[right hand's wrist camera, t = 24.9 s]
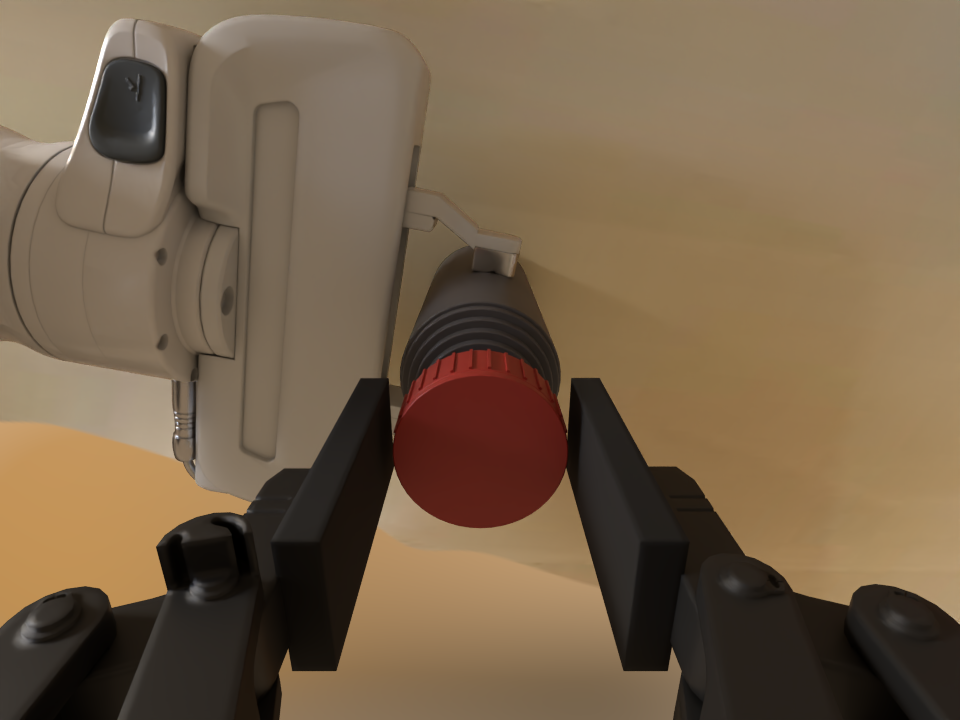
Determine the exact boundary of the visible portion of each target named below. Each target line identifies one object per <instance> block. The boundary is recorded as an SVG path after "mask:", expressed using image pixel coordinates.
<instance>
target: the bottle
mask: <svg viewBox="0 0 960 720" xmlns="http://www.w3.org/2000/svg"><path fill="white" fill-rule="evenodd" d="M473 254H474V249H472V248H471V247H470V246H467V247H464V248H461V249H459V250H457V251H455V252H454V253H452V254H451V255H449V256H448V257H447V258H446V259H445V260H444V261H443V262H442V263H441V265H440V266H439V268H438V270H437V272H436V274H435V276H434V278H433V281H432V283H431V286H430V288H429V291H428V293H427V296H426V298H425V301H424V303H423V306H422V308H421V311H420V313H419V316H418V318H417V321H416V323H415V326H414V328H413V331H412V333H411V336H410V338H409V341H408V343H407V346H406V348H405V351H404V354H403V357H402V362H401V367H400V382H401V389H402V393H403V397H404V396H405V394H408V393H409V391H410V388H411V384H412V382H413V380H414V381H416V380H417V379H418V378H419V376H420V375H421V374H422V372H423V370H424V369H426V370H427V369H428V368H429V367H430V366H432V365H433V364H435V363H436V361H437V360H438V359H440V360H442V359H444V358H446V357H448V356H451V355H452V353H454V352H455V353H456V354H457V353H461V352H466V351H470V349H473V351H475V350H486V351H487V349H491V351H495V352H500V353H505V352H507V353H508V355H510V356H513V357H515V358H517V359H519V360H520V359H523V360H524V362H525V363H526V364H528V365H529V366H531V367H532V368H533V369H534V368H536V369H537V370H538V373H539V374H540V376H541V377H542V378H543V379H544V380H547V381H548V382H549V386H550V389H551V391H552V393H553V394H554V393H555V394H556V397H557V395H558V392H559V387H560V377H561V371H560V363H559V359H558V355H557V352H556V349H555V347H554V344H553V342H552V339H551V337H550V334H549V332H548V329H547V327H546V324H545V322H544V319H543V317H542V314H541V312H540V309H539V307H538V304H537V302H536V299H535V297H534V294H533V292H532V289H531V287H530V285H529V282H528V280H527V277H526V275H525V272H524V270H523V269H522V267H521V265H520V264H519V263H518V262H517V265H516V270H515V274H514V277H504V276H501V275H498V274H497V273H496V272H495V271H491V272H489V273H485V272H479V271H474V270H471V268H472V260H473Z"/></svg>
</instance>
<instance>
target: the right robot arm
mask: <svg viewBox="0 0 960 720" xmlns="http://www.w3.org/2000/svg"><path fill="white" fill-rule="evenodd" d="M567 442H568V460H567V466H566V468H567V472H568V475H569V479H570V483H571V486H572V490H573V493H574V497H575V500H576V504H577V507H578V511H579V514H580V518H581V522H582V525H583V529H584V532H585V536H586V539H587V543H588V546H589V550H590V553H591V557H592V561H593V564H594V568H595V571H596V575H597V578H598V582H599V585H600V589H601V592H602V596H603V600H604V603H605V607H606V610H607V614H608V617H609V621H610V624H611V628H612V631H613V635H614V639H615V642H616V646H617V649H618V653H619V656H620V660H621V663H622V667H623V670H624V671H668V666H669V660H670V655H671V649H672V648H673V650H674V653H675V655H676V658H677V660H678V663H679V665H680V668H681V670H682V673H681V678H680V684H679V689H678V695H677V700H676V706H675V711H674V718H673V720H960V624H958V623H957V622H956V621H955V620H954V619H953V618H952V617H951V616H949V615H948V614H947V613H946V612H944V611H943V610H942V609H941V608H939V607H938V606H937V605H935V604H933V603H931V602H929V601H928V600H926V599H924V598H922V597H920V596H918V595H916V594H914V593H911V592H908V591H905V590H902V589H900V588H897V587H893V586H886V585H878V584H873V585H867V586H861V587H860V588H859V589H858V590H856V591H855V592H854V593H853V595H852V599H851V602H850V605H849V606H847V605H843V604H839V603H834V602H830V601H826V600H821V599H817V598H813V597H808V596H805V595H802V594H798V593H795V592H793V590H792V589H791V587H790V586H789V584H788V583H787V581H786V580H785V578H784V577H783V576H782V575H780V574H779V573H778V572H777V571H775V570H774V569H773V568H772V567H770V566H769V565H767V564H765V563H763V562H761V561H759V560H757V559H755V558H751V557H748V556H745V554H744V553H743V551H742V550H741V548H740V547H739V545H738V544H737V542H736V541H735V540H734V538H733V537H732V535H731V534H730V532H729V531H728V529H727V528H726V526H725V525H724V523H723V522H722V520H721V519H720V517H719V516H718V514H717V513H716V512H714V510H713V507H712V505H711V504H710V502H709V501H708V499H705V495H704V493H703V492H702V491H701V489H700V488H699V486H698V485H697V483H696V482H695V480H694V479H692V478H691V477H690V476H688V475H687V474H685V473H684V472H683V471H681V470H680V469H679V468H677V467H648V465H647V463H646V461H645V460H644V458H643V456H642V454H641V452H640V451H639V449H638V447H637V445H636V443H635V442H634V440H633V438H632V436H631V434H630V432H629V431H628V429H627V427H626V425H625V423H624V422H623V420H622V418H621V416H620V414H619V413H618V411H617V409H616V407H615V405H614V404H613V402H612V400H611V398H610V396H609V394H608V393H607V391H606V389H605V387H604V385H603V384H602V382H601V380H600V378H571V392H570V408H569V423H568V438H567ZM393 468H394V461H393V438H392V423H391V408H390V392H389V378H360V380H359V382H358V384H357V385H356V387H355V389H354V391H353V393H352V394H351V396H350V398H349V400H348V402H347V404H346V405H345V407H344V409H343V411H342V413H341V414H340V416H339V418H338V420H337V422H336V423H335V425H334V427H333V429H332V431H331V433H330V434H329V436H328V438H327V440H326V442H325V443H324V445H323V447H322V449H321V451H320V452H319V454H318V456H317V458H316V460H315V461H314V463H313V465H312V467H311V468H284V469H283V470H281V471H280V472H278V473H277V474H276V475H274V476H273V477H272V478H270V479H269V480H267V481H266V482H265V484H264V485H263V487H262V488H261V490H260V491H259V493H258V494H257V496H256V499H255V500H253V502H252V503H251V505H250V506H249V508H248V509H247V513H245V514H244V515H243V516H242V515H238V514H235V513H230V512H229V513H228V512H227V513H212V514H208V515H204V516H200V517H196V518H194V519H191V520H189V521H187V522H185V523H182V524H180V525H178V526H177V527H176V528H174V529H173V530H172V531H170V532H169V533H167V534H166V535H165V536H164V537H163V538H162V540H161V541H160V542H159V544H158V545H157V546H156V549H157V552H158V556H159V560H160V564H161V567H162V571H163V575H164V579H165V583H166V586H167V590H168V591H167V594H166V595H163V596H159V597H156V598H153V599H148V600H144V601H140V602H135V603H131V604H127V605H123V606H118V607H114V608H111V605H110V602H109V599H108V596H107V595H106V594H105V593H104V592H103V591H102V590H101V589H99V588H92V587H86V586H84V587H77V588H70V589H65V590H62V591H59V592H56V593H53V594H50V595H47V596H45V597H43V598H41V599H39V600H38V601H36V602H34V603H32V604H30V605H28V606H26V607H25V608H23V609H22V610H21V611H20V612H18V613H17V614H16V615H14V616H13V617H12V618H11V619H9V620H8V621H7V622H6V623H5V624H4V625H3V626H2V627H1V628H0V720H279V717H280V707H281V697H282V692H281V685H280V678H279V670H280V668H281V665H282V663H283V660H284V658H285V655H286V653H287V650H288V649H289V654H290V660H291V666H292V671H336V670H337V667H338V663H339V660H340V656H341V653H342V649H343V646H344V642H345V638H346V635H347V632H348V628H349V624H350V621H351V617H352V614H353V610H354V606H355V603H356V599H357V596H358V592H359V589H360V585H361V582H362V578H363V575H364V571H365V568H366V564H367V560H368V557H369V553H370V550H371V546H372V543H373V539H374V536H375V532H376V529H377V525H378V522H379V518H380V515H381V511H382V507H383V504H384V500H385V497H386V493H387V490H388V486H389V483H390V479H391V475H392V472H393Z"/></svg>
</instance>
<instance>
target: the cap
mask: <svg viewBox="0 0 960 720" xmlns="http://www.w3.org/2000/svg"><path fill="white" fill-rule="evenodd" d="M393 433H395V435H394V441H393V461H394V467H395V470H396V473H397V476H398V478H399V480H400V483H401V485H402V486H403V488H404V489H405V491H406V492H407V494H408V495H409V496H410V497H411V499H412V500H413V501H414V502H415V503H416V504H417V505H419V506H420V507H421V508H422V509H423V510H425V511H426V512H428V513H429V514H431V515H433V516H434V517H436V518H438V519H440V520H443V521H445V522H448V523H451V524H454V525H458V526H463V527H470V528H492V527H498V526H503V525H507V524H510V523H513V522H516V521H518V520H521V519H523V518H525V517H526V516H528V515H530V514H532V513H533V512H535V511H536V510H537V509H539V508H540V507H541V506H542V505H543V504H545V503H546V502H547V501H548V500H549V498H550V497H551V496H552V495H553V494H554V492H555V491H556V489H557V488H558V486H559V484H560V482H561V480H562V478H563V476H564V473H565V469H566V466H567V460H568V442H567V436H566V433H567V428H566V425H565V422H564V419H563V415H562V412H561V409H560V406H559V403H558V400H557V397H556V394H555V393H554V394H553V393H552V391H551V389H550V386H549V382H548V381H547V380H544V379H543V378H542V377H541V376H540V374H539V373H538V370H537V369H536V368H534V369H533V368H532V367H531V366H529V365H528V364H526V363H525V362H524V360H523V359H520V360H519V359H517V358H515V357H513V356H510V355H508V353H507V352H505V353H500V352H495V351H491V349H487V351H486V350H475V351H473V349H470V351H466V352H461V353H457V354H456V353H455V352H454V353H452V355H451V356H448V357H446V358H444V359H442V360H440V359H438V360H437V361H436V363H435V364H433V365H432V366H430V367H429V368H428V369H427V370H426V369H424V370H423V372H422V374H421V375H420V376H419V378H418V379H417V380H416V381H414V380H413V382H412V384H411V388H410V391H409V393H408V394H405V396H404V399H403V402H402V405H401V409H400V412H399V415H398V419H397V422H396V425H395V428H394V432H393Z"/></svg>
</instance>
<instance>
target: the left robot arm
mask: <svg viewBox="0 0 960 720" xmlns="http://www.w3.org/2000/svg"><path fill="white" fill-rule="evenodd" d="M430 83H431V75H430V71H429V69H428V66H427V64H426V62H425V60H424V58H423V57H422V55H421V54H420V52H419V51H418V49H417V48H416V47H415V46H414V44H413V43H412V42H411V41H410V40H409V39H408V38H407V37H406V36H404V35H403V34H401V33H399V32H397V31H393V30H390V29H386V28H382V27H378V26H373V25H367V24H361V23H355V22H349V21H342V20H334V19H327V18H317V17H306V16H291V15H266V14H260V15H244V16H238V17H233V18H230V19H227V20H224V21H222V22H220V23H218V24H216V25H215V26H213V27H212V28H211V29H209V30H208V31H207V32H206V33H205V34H204V35H203V36H199V35H197V34H194V33H192V32H189V31H187V30H184V29H180V28H177V27H173V26H170V25H166V24H162V23H157V22H152V21H147V20H140V19H131V18H124V19H119V20H117V21H116V22H114V23H113V24H112V25H111V27H110V28H109V30H108V32H107V34H106V36H105V39H104V42H103V45H102V48H101V52H100V56H99V60H98V64H97V68H96V72H95V75H94V79H93V83H92V87H91V90H90V94H89V97H88V101H87V104H86V108H85V111H84V115H83V118H82V121H81V124H80V127H79V130H78V133H77V136H76V139H75V141H65V142H56V143H42V142H37V141H34V140H31V139H29V138H27V137H25V136H23V135H21V134H19V133H17V132H15V131H13V130H11V129H8V128H6V127H3V126H1V125H0V341H12V342H16V343H20V344H22V345H25V346H27V347H29V348H31V349H32V350H34V351H36V352H39V353H41V354H43V355H46V356H49V357H52V358H55V359H59V360H63V361H69V362H74V363H80V364H85V365H92V366H97V367H103V368H109V369H114V370H120V371H126V372H130V373H136V374H142V375H148V376H153V377H159V378H165V379H171V380H172V405H173V412H174V419H175V431H174V433H173V440H172V444H173V451H174V455H175V458H176V459H177V460H178V461H181V462H183V464H184V466H185V468H186V470H187V472H188V473H189V474H190V476H191V477H192V478H193V479H194V480H195V481H196V483H197V485H198V486H200V487H202V488H204V489H207V490H210V491H215V492H221V493H227V494H230V495H233V496H236V497H238V498H241V499H244V500H247V501H250V502H253V500H255V499H256V496H257V494H258V493H259V491H260V490H261V488H262V487H263V485H264V484H265V482H266V481H267V480H269V479H270V478H272V477H273V476H274V475H276V474H277V473H278V472H280V471H281V470H283V469H284V468H311V467H312V465H313V463H314V461H315V460H316V458H317V456H318V454H319V452H320V451H321V449H322V447H323V445H324V443H325V442H326V440H327V438H328V436H329V434H330V433H331V431H332V429H333V427H334V425H335V423H336V422H337V420H338V418H339V416H340V414H341V413H342V411H343V409H344V407H345V405H346V404H347V402H348V400H349V398H350V396H351V394H352V393H353V391H354V389H355V387H356V385H357V384H358V382H359V380H360V378H387V377H388V370H389V363H390V356H391V349H392V343H393V336H394V329H395V322H396V315H397V309H398V302H399V295H400V288H401V281H402V274H403V268H404V261H405V254H406V247H407V240H408V233H409V228H411V229H416V230H422V231H427V232H430V231H431V230H433V228H434V227H435V226H436V224H437V220H440V221H441V222H442V223H443V224H444V225H445V226H447V227H448V228H449V229H450V230H451V231H452V232H454V233H455V234H456V235H457V236H458V237H459V238H461V239H462V240H463V241H464V242H465V243H467V244H468V245H469V246H470V247H471V248H472V249H474V254H473V260H472V268H471V270H474V271H479V272H485V273H489V272H491V271H495V272H496V273H497V274H498V275H501V276H504V277H514V274H515V270H516V265H517V261H518V257H519V252H520V248H521V244H522V241H521V239H520V238H519V237H516V236H513V235H509V234H504V233H499V232H494V231H490V230H485V229H480V228H478V224H477V223H475V222H474V221H473V220H472V219H471V218H470V217H469V216H468V215H467V214H465V213H464V212H463V211H462V210H461V209H460V208H459V207H458V206H456V205H455V204H454V203H453V202H452V201H451V200H450V199H449V198H448V197H446V196H445V195H444V194H443V193H440V192H435V191H431V190H426V189H421V188H416V187H415V186H416V179H417V172H418V165H419V158H420V152H421V145H422V138H423V131H424V124H425V117H426V111H427V104H428V97H429V90H430ZM389 392H390V408H391V423H392V434H394V435H395V433H393V432H394V428H395V425H396V422H397V419H398V415H399V412H400V409H401V405H402V402H403V399H404V397H403V393H402V389H401V387H399V386H394V385H389ZM194 459H196V462H195V465H194V462H193V460H194Z"/></svg>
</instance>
